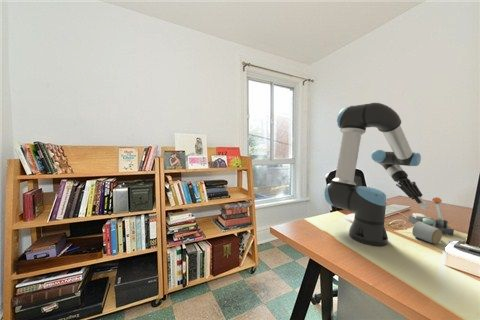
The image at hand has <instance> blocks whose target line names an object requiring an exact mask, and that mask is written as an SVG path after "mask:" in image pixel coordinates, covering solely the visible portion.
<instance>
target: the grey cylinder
mask: <svg viewBox="0 0 480 320" xmlns="http://www.w3.org/2000/svg"><path fill="white" fill-rule="evenodd" d="M411 234H412V236H413V237H415V238H417V239H420V240H422V241H424V242H427V243H430V244H434V245H437V244H439V243H440V242H441V241H442V239H443V234H442V232H441V230H439V229H438V228H435V227H433V226H430V225H428V224H425V223H423V222H417V223H416V224H415V225H414V224H413V227H412V233H411Z"/></svg>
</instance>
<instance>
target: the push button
mask: <svg viewBox="0 0 480 320" xmlns="http://www.w3.org/2000/svg"><path fill="white" fill-rule="evenodd" d="M433 221H434V220H432V219H428V218H423V223H425V224H428V225H433Z"/></svg>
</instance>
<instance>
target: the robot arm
mask: <svg viewBox="0 0 480 320" xmlns="http://www.w3.org/2000/svg"><path fill="white" fill-rule="evenodd" d="M336 123H337V124H336V125H337V127H338V128H339V129H340V132H341V134H342V136H341V141H340V148H339V153H338V159H337V160H338V161H337V163H336V164H337V166H336V171H335V177H334V178H333V179H332V180H331V182H330V183H328V184H326V186H325V188H324V199H325V201H326V203H327V204H328V205H330V206H332V207H334V208H339V209H342V210H345V211H349V212H352V213H354V219H353V222H352V224H351V225H350V227H349V231H348V235H349V236H350V238H352V239H353V240H355V241H357V242H359V243H362V244H365V245H367V246H374V247H375V246H376V247H384V246H387V245H388V242H389V237H388V234H387V230H386V227H385V220H386V219H385V218H386V209H387V207H386V206H387V195H386V194H385V192H384V191H382V190H380V189H377V188H374V187H370V186H365V185H363V186H362V185H360V186H357V183H356V182H355V174H356V169H357V163H358V158H359V156H358V155H359V152H360V147H361V139H362V135H364V134H365V133H366V131H367V128H377V130H378V131H379V132H381V133H382V134H383V136H384V138H385V139H386V141H387V143H388V145H389V146H390V148H391V150H392V151H385V150H383V149H375V150H373V151H372V153H371V156H370V157H371V160H373V161H374V162H375V163H377V164H379V165H381V166H382V167H383V168H384V170H385V171H386V172H387V173H388V175H389V176H390V177H391V179H392V180H393V181H394V182H396V184H395V186H396V187H398V188H399V189H400V190H402V191H403V192H404V194H405V195H406V196H407V197H408V198H409V199H411V200H414V201H415V202H416V203H417V204H418V206H420V208H421V209H422V210H423V211H425V210H427V209H429V208H430V206H429V205H428V204H427V202H426V201H425V200H424V199H423V198H422V197H423V193H422V192H421V191H420V188H419V187H418V185H417V184H416V181H412V180H410V179H409V177H408V176H409V174H408V173H407V172H406V171H405V170H404V169H403V167H401V166H407V167H418V166H419V165H420V163H421V160H422V156H421V153H419V152H415V151H414V152H413V150H412V148H411V146H410V144H409V141H408V139H407V137H406V135H405V132H404V131H403V129H402V126H401V125H402V120H401V117H400V115H399V114H398V113H397V112H396V110H395V109H393V108H392V107H390V106H388V105H386V104H385V103H381V102H370V103H365V104H357V105H350V106H345V107H343V108H342V109H341V110H340V111H339V113H338V115H337V118H336Z"/></svg>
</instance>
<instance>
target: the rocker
mask: <svg viewBox="0 0 480 320" xmlns="http://www.w3.org/2000/svg"><path fill="white" fill-rule="evenodd" d="M412 216H414V217H415V218H418V219H423V218H426V217H427V216H426V215H424V214H423V213H417V212H416V213H415V212H413V213H412Z"/></svg>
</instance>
